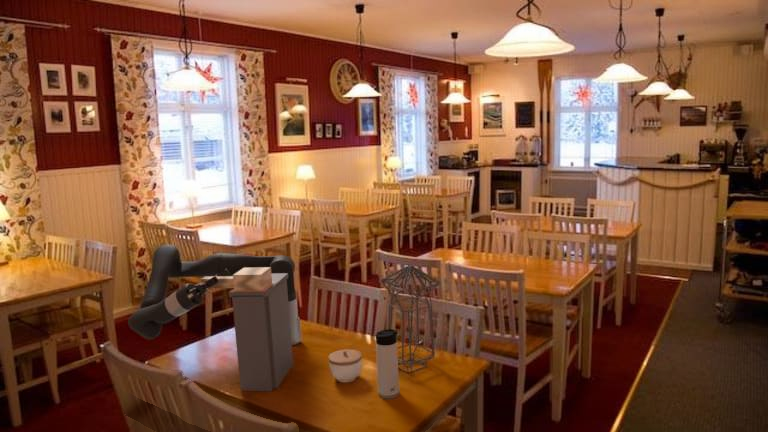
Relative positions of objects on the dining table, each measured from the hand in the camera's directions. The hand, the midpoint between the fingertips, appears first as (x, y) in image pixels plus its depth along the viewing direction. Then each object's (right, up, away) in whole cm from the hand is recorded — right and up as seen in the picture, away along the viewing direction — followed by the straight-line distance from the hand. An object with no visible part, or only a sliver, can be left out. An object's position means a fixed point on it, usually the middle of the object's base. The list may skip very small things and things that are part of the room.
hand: (222, 275), depth 183 cm
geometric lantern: (+61, -32, +11) cm, 69 cm away
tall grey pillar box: (+12, -34, +10) cm, 38 cm away
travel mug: (+53, -35, -8) cm, 64 cm away
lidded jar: (+39, -34, +5) cm, 52 cm away
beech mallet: (+4, -4, 0) cm, 5 cm away
